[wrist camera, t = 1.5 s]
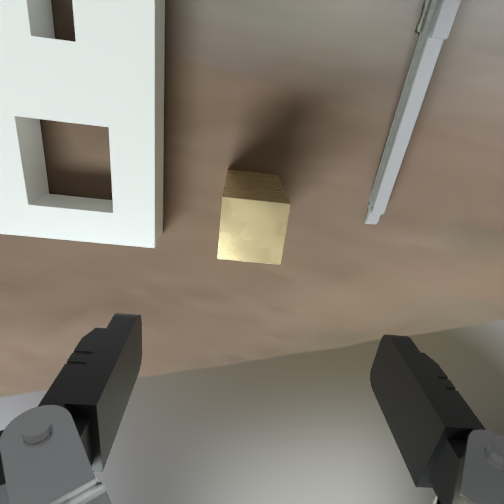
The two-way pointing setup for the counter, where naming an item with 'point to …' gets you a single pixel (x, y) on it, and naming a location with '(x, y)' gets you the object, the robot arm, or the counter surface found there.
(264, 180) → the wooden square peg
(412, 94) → the caliper
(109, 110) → the white peg hole board
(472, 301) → the counter surface
